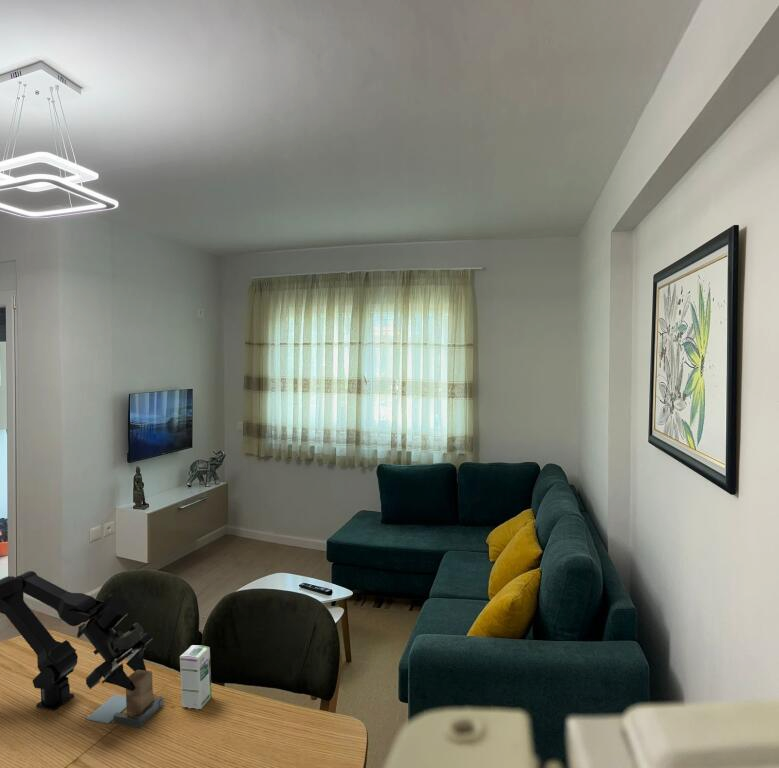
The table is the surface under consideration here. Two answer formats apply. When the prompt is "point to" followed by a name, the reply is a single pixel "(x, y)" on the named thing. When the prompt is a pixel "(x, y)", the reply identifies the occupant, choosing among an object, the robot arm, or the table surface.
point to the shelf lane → (142, 718)
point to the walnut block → (140, 692)
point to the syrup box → (195, 676)
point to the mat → (109, 709)
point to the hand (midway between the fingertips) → (140, 684)
